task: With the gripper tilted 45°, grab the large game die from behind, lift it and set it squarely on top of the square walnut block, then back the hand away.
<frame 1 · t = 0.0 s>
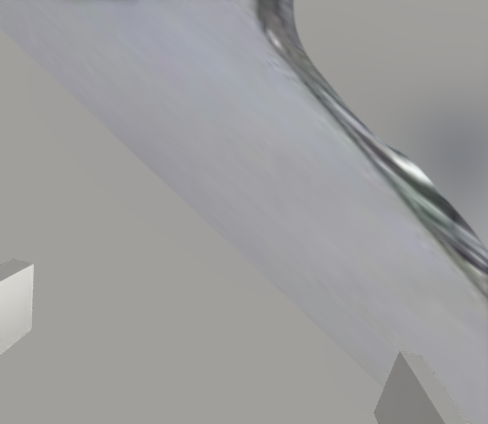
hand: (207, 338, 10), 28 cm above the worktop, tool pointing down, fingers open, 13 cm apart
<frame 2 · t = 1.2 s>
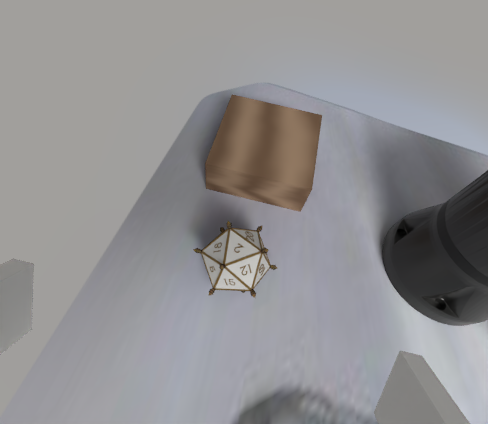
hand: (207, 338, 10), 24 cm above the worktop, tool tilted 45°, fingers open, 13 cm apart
game die: (234, 270, 37), on the worktop
walnut block: (262, 164, 46), on the worktop
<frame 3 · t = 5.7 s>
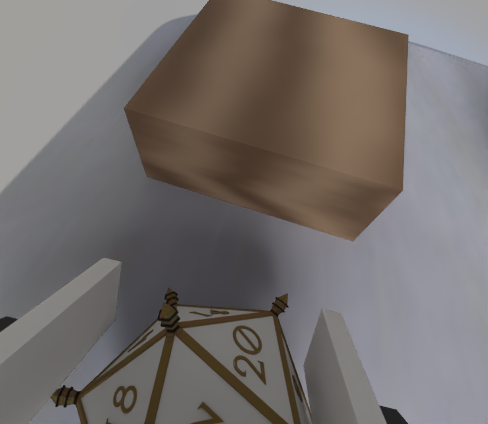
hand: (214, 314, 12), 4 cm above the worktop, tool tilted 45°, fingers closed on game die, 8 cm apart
game die: (206, 405, 14), on the worktop, touching gripper
walnut block: (272, 137, 23), on the worktop
when the fingers open (11 cm above the worktop, at t = 11.5 s): game die drops 2 cm, point 5 cm above the worktop.
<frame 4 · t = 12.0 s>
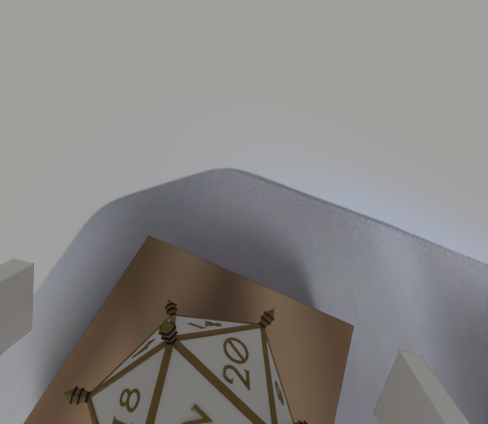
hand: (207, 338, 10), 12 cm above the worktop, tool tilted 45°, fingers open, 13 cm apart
game die: (201, 404, 15), point 5 cm above the worktop
walnut block: (199, 395, 20), on the worktop
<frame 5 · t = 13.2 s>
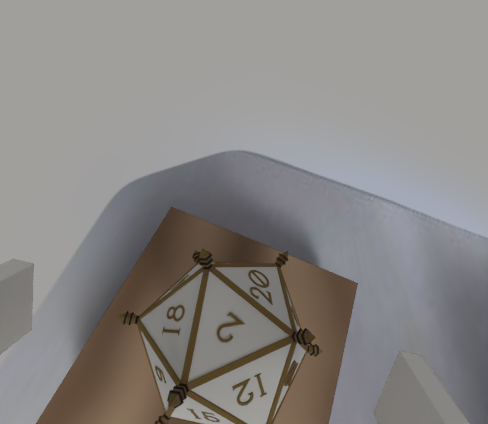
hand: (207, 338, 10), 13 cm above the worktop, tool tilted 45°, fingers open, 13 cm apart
game die: (224, 341, 17), point 5 cm above the worktop
walnut block: (218, 351, 22), on the worktop
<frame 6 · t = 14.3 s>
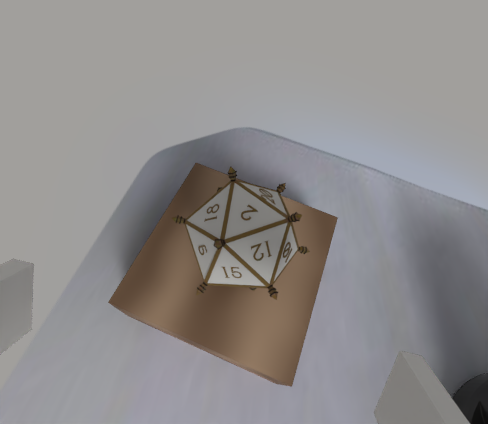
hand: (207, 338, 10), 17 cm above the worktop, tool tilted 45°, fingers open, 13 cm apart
game die: (238, 256, 24), point 5 cm above the worktop, touching walnut block
walnut block: (231, 276, 29), on the worktop, touching game die
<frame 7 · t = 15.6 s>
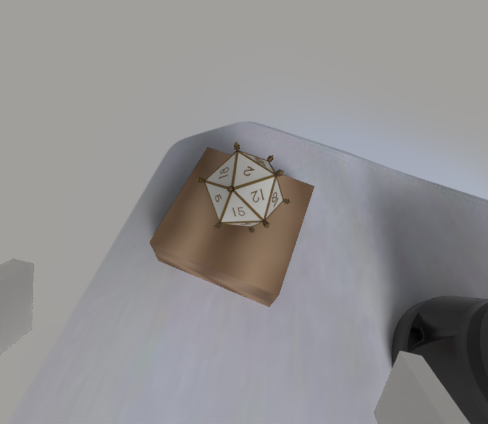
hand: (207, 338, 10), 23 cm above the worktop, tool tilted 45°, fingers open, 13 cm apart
game die: (241, 211, 33), point 5 cm above the worktop
walnut block: (235, 234, 38), on the worktop
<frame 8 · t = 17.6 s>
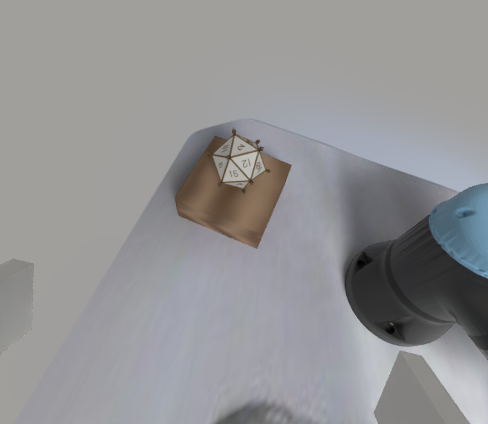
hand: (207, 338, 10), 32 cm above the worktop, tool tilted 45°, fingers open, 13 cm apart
game die: (237, 179, 47), point 5 cm above the worktop, touching walnut block
walnut block: (234, 200, 51), on the worktop, touching game die
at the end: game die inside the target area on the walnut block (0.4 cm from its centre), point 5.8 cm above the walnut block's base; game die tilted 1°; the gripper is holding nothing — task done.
